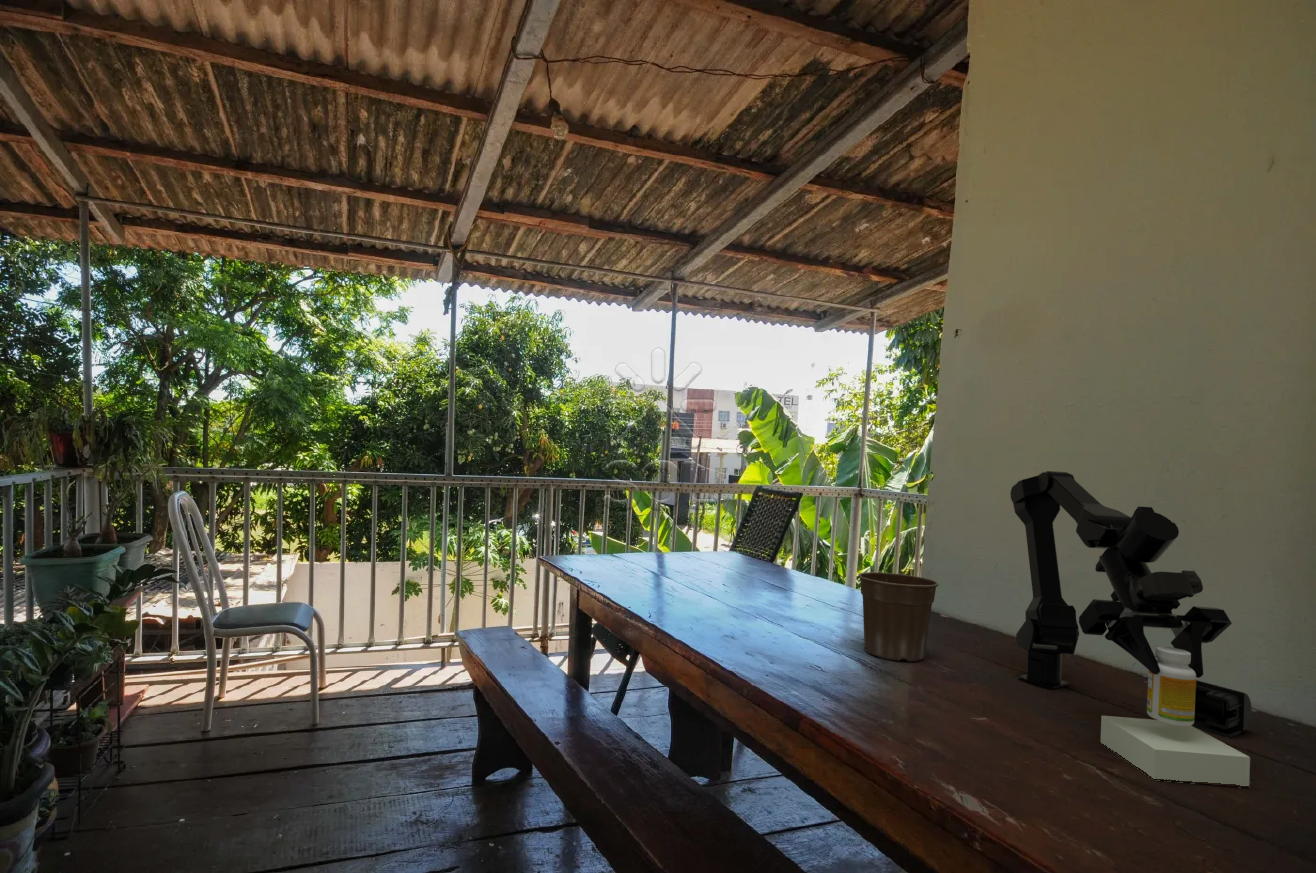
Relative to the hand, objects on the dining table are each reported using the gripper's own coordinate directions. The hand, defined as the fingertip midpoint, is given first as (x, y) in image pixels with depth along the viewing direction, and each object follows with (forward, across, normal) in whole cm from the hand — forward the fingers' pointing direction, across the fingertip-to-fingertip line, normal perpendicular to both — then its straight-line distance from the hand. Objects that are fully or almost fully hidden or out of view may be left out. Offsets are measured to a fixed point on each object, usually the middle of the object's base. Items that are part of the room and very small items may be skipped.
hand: (1178, 674), depth 95 cm
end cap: (-4, +18, +23) cm, 29 cm away
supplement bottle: (+4, 0, +6) cm, 7 cm away
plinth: (+8, 0, +10) cm, 13 cm away
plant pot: (-25, -25, +44) cm, 56 cm away
